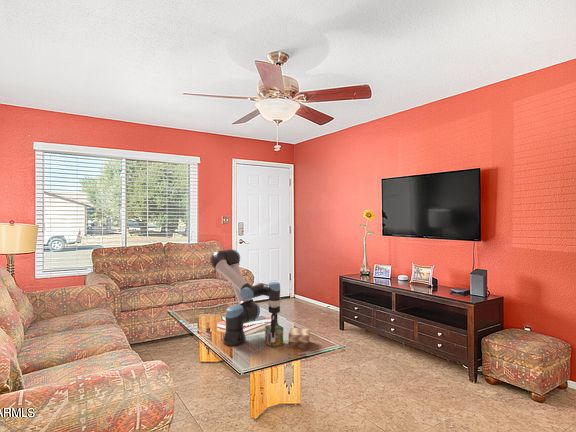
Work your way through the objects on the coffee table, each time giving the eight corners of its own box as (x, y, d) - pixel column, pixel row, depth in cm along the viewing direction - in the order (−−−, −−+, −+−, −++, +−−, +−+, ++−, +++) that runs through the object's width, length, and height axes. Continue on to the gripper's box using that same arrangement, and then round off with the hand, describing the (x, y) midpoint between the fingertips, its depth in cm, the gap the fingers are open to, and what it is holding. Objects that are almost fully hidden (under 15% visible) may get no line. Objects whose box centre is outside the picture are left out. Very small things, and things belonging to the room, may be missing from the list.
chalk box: (271, 347, 227) (271, 324, 227) (264, 343, 234) (264, 320, 234) (283, 344, 232) (283, 322, 232) (276, 340, 240) (276, 318, 239)
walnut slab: (288, 349, 226) (288, 342, 226) (289, 341, 239) (289, 334, 239) (308, 349, 225) (308, 342, 225) (308, 342, 238) (308, 335, 238)
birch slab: (288, 341, 226) (288, 334, 226) (290, 334, 239) (290, 328, 239) (308, 342, 225) (308, 335, 225) (309, 335, 238) (309, 328, 238)
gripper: (278, 311, 220) (278, 345, 221) (281, 301, 245) (281, 332, 245) (266, 311, 221) (266, 345, 221) (270, 301, 245) (270, 332, 246)
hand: (274, 338), depth 233 cm, fingers closed on chalk box, 12 cm apart
